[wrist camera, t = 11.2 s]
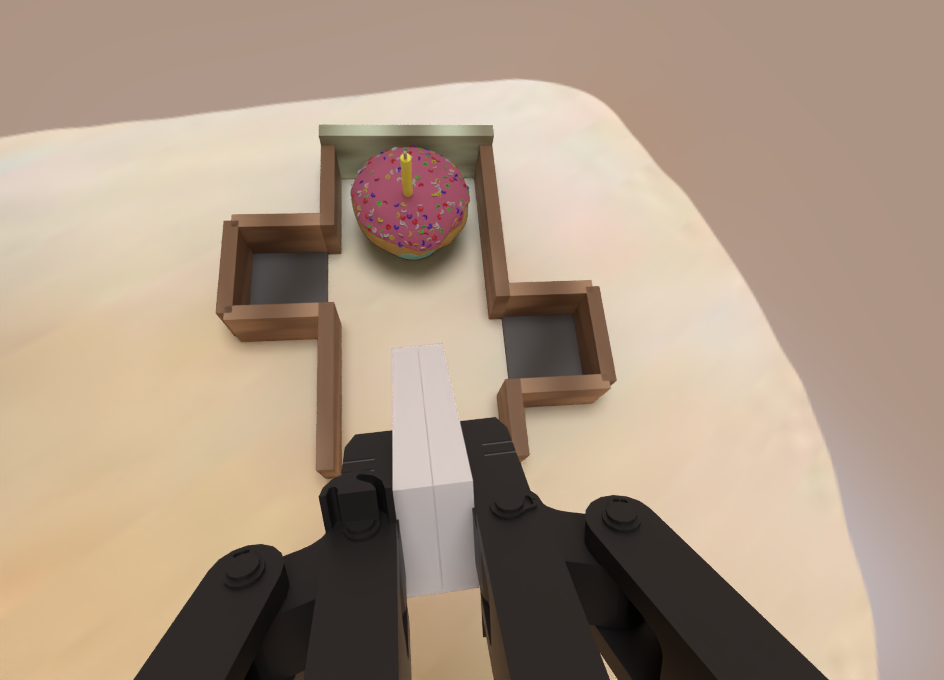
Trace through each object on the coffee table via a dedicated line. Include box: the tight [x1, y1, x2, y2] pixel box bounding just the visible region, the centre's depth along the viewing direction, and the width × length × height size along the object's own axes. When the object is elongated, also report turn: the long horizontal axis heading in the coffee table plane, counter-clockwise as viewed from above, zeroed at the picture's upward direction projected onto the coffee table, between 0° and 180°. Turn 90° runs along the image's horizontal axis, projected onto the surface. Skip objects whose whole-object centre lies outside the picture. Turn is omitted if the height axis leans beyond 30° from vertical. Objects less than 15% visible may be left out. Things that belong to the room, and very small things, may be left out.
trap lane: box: [216, 125, 617, 479], centre depth 39 cm, size 26×25×5 cm
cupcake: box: [351, 145, 470, 260], centre depth 38 cm, size 9×8×12 cm
